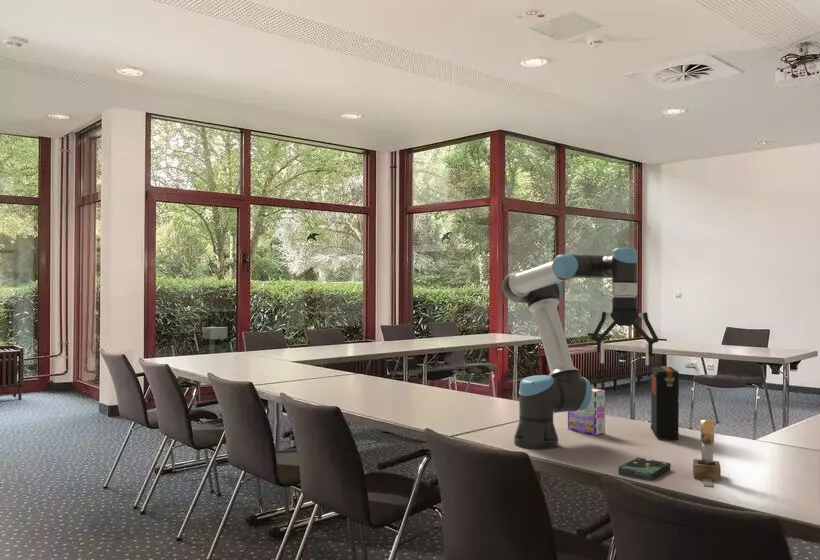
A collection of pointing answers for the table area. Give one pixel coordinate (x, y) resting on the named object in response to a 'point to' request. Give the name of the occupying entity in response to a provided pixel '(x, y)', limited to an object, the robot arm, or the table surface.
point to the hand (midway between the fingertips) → (624, 363)
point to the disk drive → (644, 469)
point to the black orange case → (665, 402)
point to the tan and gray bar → (707, 441)
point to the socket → (706, 470)
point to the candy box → (590, 415)
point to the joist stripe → (707, 482)
